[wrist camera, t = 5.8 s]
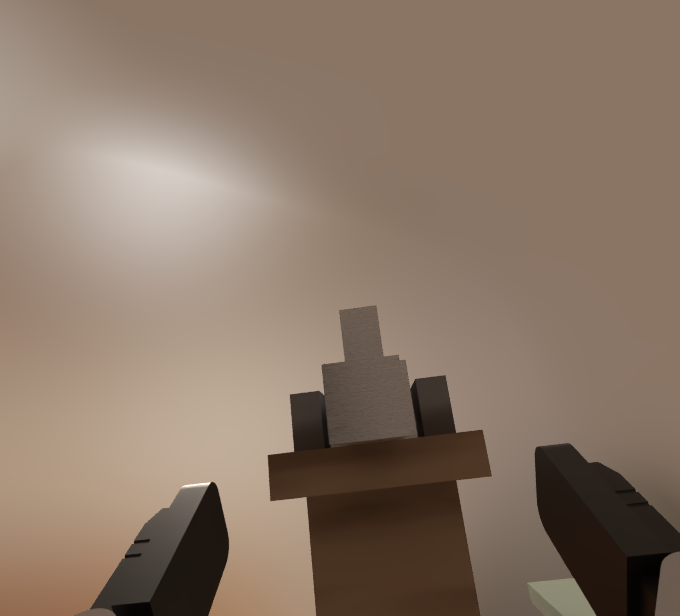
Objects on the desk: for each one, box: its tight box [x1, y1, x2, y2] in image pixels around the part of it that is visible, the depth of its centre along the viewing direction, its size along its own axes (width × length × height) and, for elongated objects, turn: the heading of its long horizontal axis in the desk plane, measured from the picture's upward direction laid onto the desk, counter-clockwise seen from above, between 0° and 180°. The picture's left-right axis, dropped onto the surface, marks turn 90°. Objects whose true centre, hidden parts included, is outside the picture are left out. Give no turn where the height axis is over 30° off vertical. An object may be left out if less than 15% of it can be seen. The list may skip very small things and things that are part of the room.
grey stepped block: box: [322, 306, 418, 448], centre depth 22 cm, size 16×4×8 cm, turn 175°
